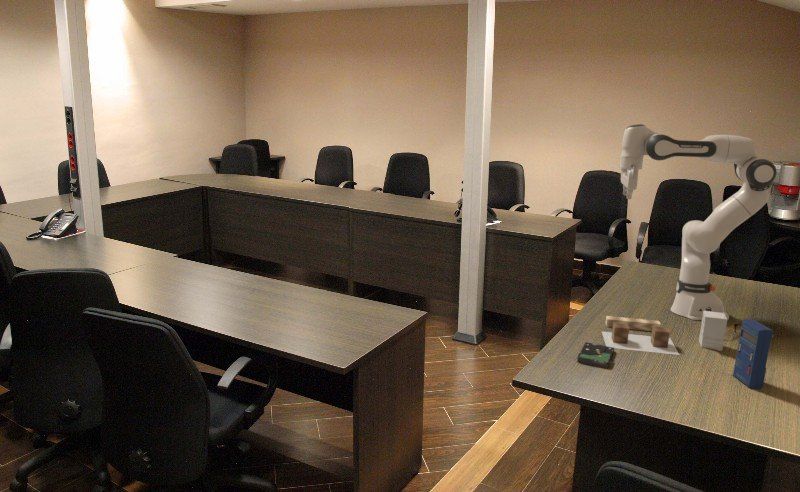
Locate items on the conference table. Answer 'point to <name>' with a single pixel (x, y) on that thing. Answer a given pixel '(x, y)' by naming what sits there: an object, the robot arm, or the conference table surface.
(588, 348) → the disk drive
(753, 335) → the electronic device
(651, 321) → the plank
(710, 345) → the supplement box
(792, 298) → the conference table surface
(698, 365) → the conference table surface
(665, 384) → the conference table surface
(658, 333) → the pillar
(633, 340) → the board
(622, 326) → the pillar
